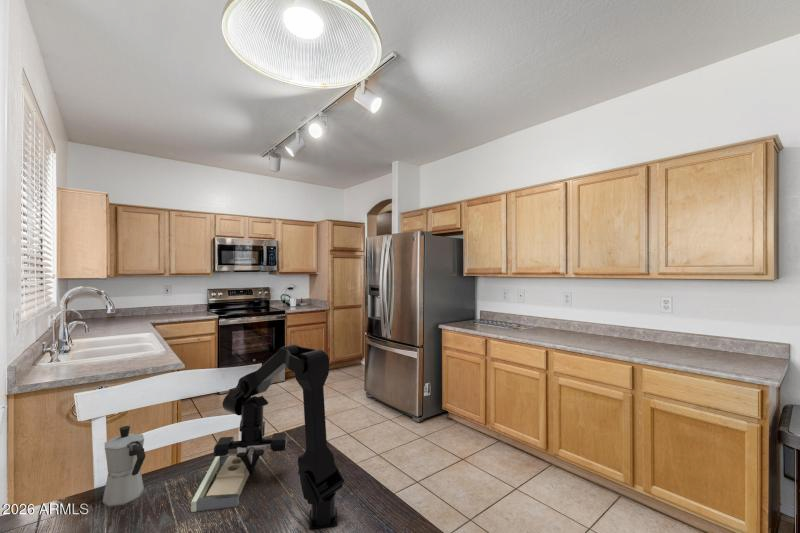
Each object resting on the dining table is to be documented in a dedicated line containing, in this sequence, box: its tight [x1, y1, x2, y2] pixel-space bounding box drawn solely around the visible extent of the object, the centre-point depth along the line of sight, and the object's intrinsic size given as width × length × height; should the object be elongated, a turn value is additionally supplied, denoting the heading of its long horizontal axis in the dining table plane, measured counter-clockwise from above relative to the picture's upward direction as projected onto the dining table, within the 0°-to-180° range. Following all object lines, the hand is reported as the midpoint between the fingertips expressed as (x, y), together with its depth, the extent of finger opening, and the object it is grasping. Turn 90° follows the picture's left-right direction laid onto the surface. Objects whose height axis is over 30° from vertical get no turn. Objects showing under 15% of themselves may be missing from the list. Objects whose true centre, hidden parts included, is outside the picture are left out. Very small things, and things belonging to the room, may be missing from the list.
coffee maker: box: [101, 425, 146, 508], centre depth 95 cm, size 15×9×18 cm, turn 62°
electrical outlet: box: [205, 455, 253, 498], centre depth 102 cm, size 7×4×18 cm
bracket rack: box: [190, 451, 254, 513], centre depth 102 cm, size 23×11×2 cm, turn 12°
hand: (251, 474), depth 104 cm, fingers closed
